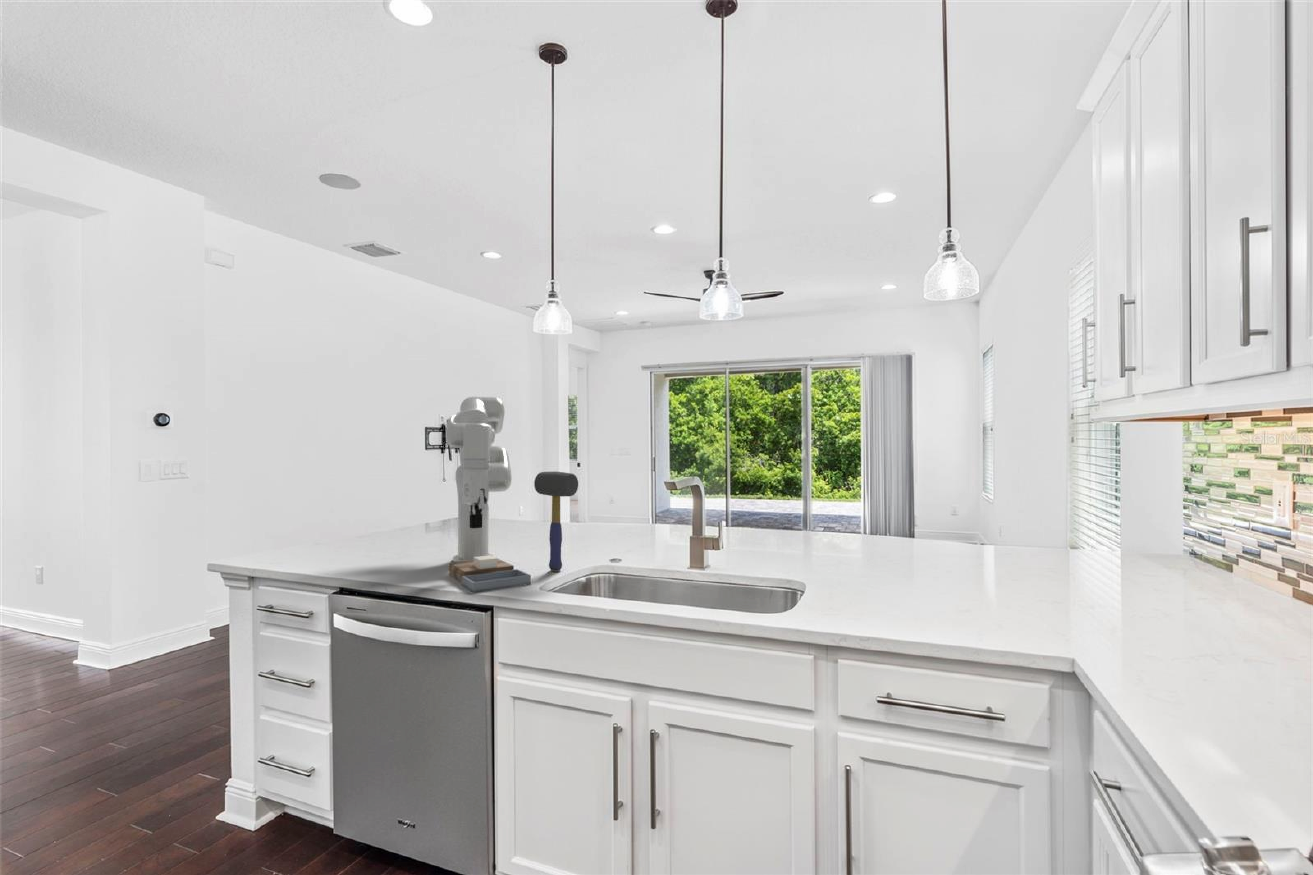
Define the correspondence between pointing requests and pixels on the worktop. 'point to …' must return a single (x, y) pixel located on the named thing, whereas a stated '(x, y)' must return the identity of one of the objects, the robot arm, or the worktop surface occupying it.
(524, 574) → the tray
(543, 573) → the worktop surface
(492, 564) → the cream tile
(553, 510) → the rubber mallet
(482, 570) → the walnut board
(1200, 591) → the worktop surface
